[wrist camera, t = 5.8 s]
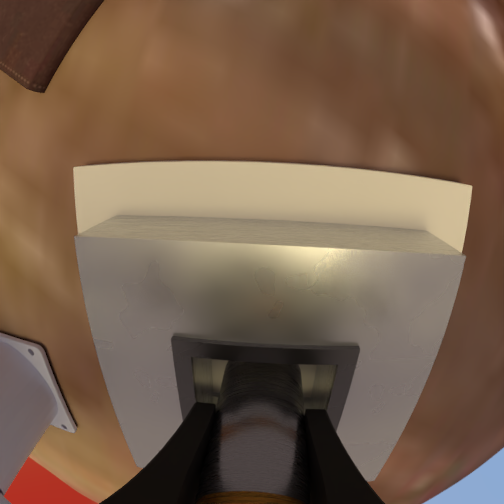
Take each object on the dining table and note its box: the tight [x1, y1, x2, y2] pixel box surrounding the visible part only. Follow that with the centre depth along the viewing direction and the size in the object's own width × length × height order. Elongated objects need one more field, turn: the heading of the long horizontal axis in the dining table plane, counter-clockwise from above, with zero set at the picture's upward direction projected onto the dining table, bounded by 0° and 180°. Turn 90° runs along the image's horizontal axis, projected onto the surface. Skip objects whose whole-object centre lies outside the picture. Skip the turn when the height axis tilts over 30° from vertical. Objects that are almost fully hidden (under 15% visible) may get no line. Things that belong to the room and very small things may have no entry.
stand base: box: [73, 160, 472, 397], centre depth 14 cm, size 16×16×1 cm
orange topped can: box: [195, 361, 310, 504], centre depth 8 cm, size 3×3×8 cm
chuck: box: [74, 215, 466, 481], centre depth 12 cm, size 12×12×3 cm
